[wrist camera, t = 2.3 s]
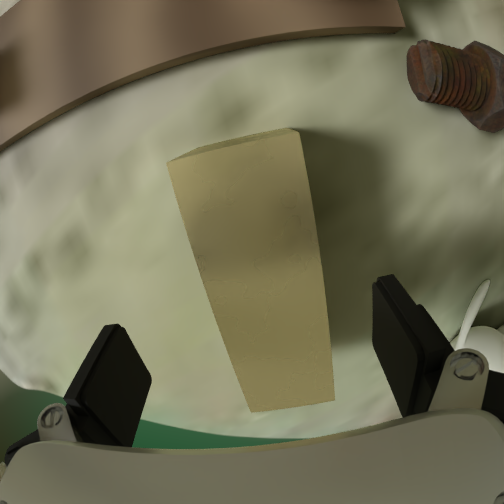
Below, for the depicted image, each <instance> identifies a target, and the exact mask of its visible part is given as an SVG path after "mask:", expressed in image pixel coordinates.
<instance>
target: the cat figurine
mask: <svg viewBox="0 0 504 504" xmlns="http://www.w3.org/2000/svg"><path fill="white" fill-rule="evenodd" d="M489 284H490V280H485V281H484V282H483V283H482V284H481V285H480V286H479V288H478V289H477V291H476V293H475V295H474V296H473V298H472V300H471V302H470V305H469V307H468V309H467V311H466V314H465V317H464V320H463V323H462V326H461V329H460V333H459V335H458V336H456V337H455V338H454V339H453V340H452V342H451V343H450V344H451V346H452V347H453V349H454V350H455V351H456V350H458V349H463V348H469V349H474V350H477V351H479V352H480V353H482V354H483V355H484V356H485V357H486V358H487V361H488V363H489V370H493V371H497V372H500V373H504V324H503V325H502V326H500V327H499V328H498V329H497V330H496V329H494V328H491V327H488V326H476V327H472V328H471V325H472V323H473V321H474V319H475V317H476V315H477V313H478V311H479V309H480V306H481V304H482V302H483V300H484V298H485V295H486V293H487V291H488V288H489Z"/></svg>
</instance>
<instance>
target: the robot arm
mask: <svg viewBox="0 0 504 504" xmlns="http://www.w3.org/2000/svg"><path fill="white" fill-rule="evenodd" d="M372 291H373V333H372V342H373V347H374V350H375V352H376V354H377V357H378V359H379V361H380V364H381V366H382V368H383V371H384V373H385V375H386V378H387V380H388V383H389V385H390V387H391V390H392V392H393V395H394V397H395V400H396V402H397V405H398V407H399V410H400V412H401V415H402V417H403V418H399V419H395V420H391V421H387V422H384V423H380V424H376V425H372V426H368V427H364V428H360V429H355V430H351V431H346V432H342V433H337V434H332V435H327V436H322V437H316V438H311V439H305V440H299V441H292V442H285V443H278V444H269V445H260V446H249V447H237V448H221V449H149V448H132V444H133V441H134V438H135V434H136V431H137V428H138V424H139V421H140V418H141V414H142V411H143V408H144V405H145V402H146V398H147V395H148V392H149V389H150V386H151V382H152V379H151V375H150V373H149V371H148V370H147V368H146V366H145V364H144V363H143V361H142V359H141V357H140V356H139V354H138V352H137V350H136V348H135V347H134V345H133V343H132V341H131V339H130V337H129V335H128V334H127V332H126V330H125V328H124V327H121V326H120V325H119V324H111V325H105V326H104V327H103V329H102V330H101V332H100V334H99V335H98V337H97V339H96V340H95V342H94V344H93V345H92V347H91V349H90V351H89V352H88V354H87V356H86V358H85V359H84V361H83V363H82V365H81V366H80V368H79V370H78V372H77V374H76V375H75V377H74V379H73V381H72V383H71V385H70V386H69V388H68V390H67V392H66V394H65V396H64V398H63V399H64V400H65V401H66V403H67V405H66V407H65V406H64V405H63V404H60V403H55V404H51V405H49V406H47V407H46V408H45V409H44V410H43V411H42V412H41V413H40V415H39V417H38V420H37V421H38V422H37V425H38V429H37V430H36V431H34V432H33V433H31V434H29V435H27V436H26V437H24V438H22V439H21V440H19V441H18V442H16V443H14V444H13V445H11V446H10V447H9V448H8V449H7V452H6V454H5V464H4V463H3V462H2V463H1V464H0V504H504V373H500V372H497V371H493V370H489V363H488V361H487V358H486V357H485V356H484V355H483V354H482V353H480V352H479V351H477V350H474V349H469V348H463V349H458V350H456V351H455V350H454V349H453V347H452V346H451V344H450V343H449V341H448V340H447V339H446V337H445V336H444V334H443V333H442V331H441V330H440V329H439V327H438V326H437V324H436V323H435V322H434V320H433V319H432V318H431V316H430V315H429V313H428V312H427V311H426V309H425V308H424V307H423V306H422V305H420V304H418V305H416V304H415V302H414V301H413V300H412V298H411V297H410V296H409V294H408V293H407V292H406V290H405V289H404V288H403V286H402V285H401V284H400V282H399V281H398V280H397V278H396V277H395V276H394V275H393V274H391V275H386V276H382V277H378V278H377V282H374V283H373V285H372Z"/></svg>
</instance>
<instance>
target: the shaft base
mask: <svg viewBox="0 0 504 504" xmlns="http://www.w3.org/2000/svg"><path fill="white" fill-rule="evenodd" d="M405 27H406V26H405V23H404V19H403V16H402V13H401V10H400V7H399V4H398V1H397V0H20V1H19V2H18V3H16V4H15V5H14V6H13V7H12V8H10V9H9V10H8V11H7V12H5V13H4V14H3V15H2V16H1V17H0V152H1V151H2V150H4V149H5V148H6V147H8V146H9V145H11V144H12V143H14V142H15V141H17V140H19V139H20V138H22V137H23V136H25V135H26V134H28V133H30V132H31V131H33V130H35V129H36V128H38V127H40V126H41V125H43V124H45V123H46V122H48V121H50V120H52V119H54V118H55V117H57V116H59V115H61V114H63V113H65V112H67V111H68V110H70V109H72V108H74V107H76V106H78V105H80V104H82V103H84V102H86V101H88V100H91V99H93V98H95V97H97V96H99V95H101V94H104V93H106V92H108V91H110V90H113V89H115V88H117V87H120V86H122V85H125V84H127V83H129V82H132V81H135V80H137V79H140V78H142V77H145V76H148V75H150V74H153V73H156V72H159V71H162V70H165V69H168V68H171V67H174V66H177V65H180V64H183V63H187V62H190V61H193V60H197V59H200V58H204V57H208V56H211V55H215V54H219V53H223V52H227V51H232V50H236V49H241V48H245V47H250V46H255V45H261V44H266V43H272V42H278V41H285V40H292V39H299V38H307V37H317V36H328V35H341V34H364V33H396V32H398V31H399V30H401V29H403V28H405Z"/></svg>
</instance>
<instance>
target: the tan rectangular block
mask: <svg viewBox="0 0 504 504" xmlns="http://www.w3.org/2000/svg"><path fill="white" fill-rule="evenodd" d="M166 164H167V167H168V171H169V174H170V178H171V181H172V185H173V188H174V192H175V195H176V199H177V202H178V205H179V209H180V212H181V215H182V219H183V222H184V225H185V229H186V232H187V235H188V238H189V241H190V244H191V248H192V251H193V254H194V257H195V260H196V263H197V266H198V269H199V272H200V275H201V278H202V281H203V284H204V287H205V290H206V293H207V296H208V299H209V302H210V305H211V308H212V310H213V313H214V316H215V319H216V322H217V325H218V327H219V330H220V333H221V336H222V338H223V341H224V344H225V347H226V349H227V352H228V355H229V357H230V360H231V363H232V365H233V368H234V370H235V373H236V376H237V378H238V381H239V383H240V386H241V388H242V391H243V394H244V396H245V399H246V401H247V404H248V406H249V409H250V411H251V412H260V411H269V410H278V409H285V408H292V407H299V406H306V405H312V404H317V403H323V402H328V401H334V400H335V394H334V379H333V366H332V354H331V343H330V332H329V323H328V313H327V304H326V296H325V287H324V279H323V272H322V264H321V257H320V250H319V243H318V236H317V229H316V223H315V217H314V210H313V204H312V198H311V193H310V187H309V181H308V176H307V170H306V165H305V160H304V154H303V149H302V144H301V139H300V134H299V132H297V131H294V130H292V129H289V128H283V129H278V130H273V131H268V132H263V133H258V134H253V135H248V136H244V137H239V138H235V139H231V140H226V141H222V142H218V143H214V144H210V145H206V146H202V147H199V148H196V149H194V150H192V151H190V152H188V153H185V154H183V155H181V156H179V157H177V158H175V159H173V160H171V161H169V162H167V163H166Z"/></svg>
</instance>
